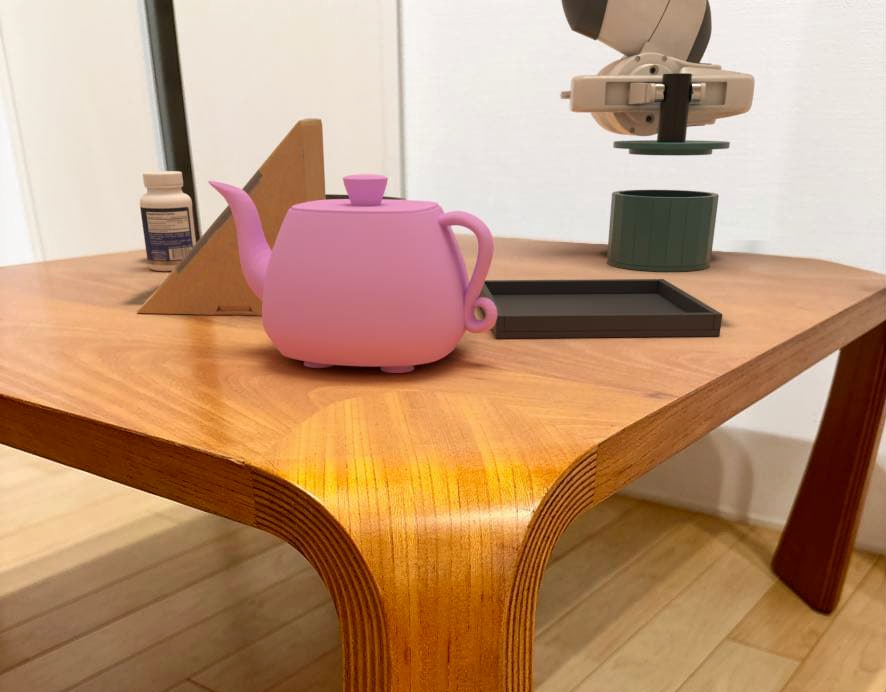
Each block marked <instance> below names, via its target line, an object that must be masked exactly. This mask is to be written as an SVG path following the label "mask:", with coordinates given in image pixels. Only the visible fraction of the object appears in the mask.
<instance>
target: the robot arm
mask: <svg viewBox="0 0 886 692" xmlns="http://www.w3.org/2000/svg"><path fill="white" fill-rule="evenodd" d="M560 1H561V5H562V11H563V14H564V16H565V19H566V21H567V24H568V26H569V28H570V30H571V31H572V32H575V33H577V34H580V35H581V36H584V37H587V38H589V39H591V40H593V41H599V42H600V43H602V44H604V45H605V46H607V47H609V48H611V49H613V50H615V51H616V52H618V53H620V54H621V55H623V56H622V57H621V58H619V59H616V60H614V61H612V62H610V63H608V64H606V65H605V66H604V67H603V68H601V70H599V71H598V72H597V73H596V74H588V75H587V74H584V75H583V74H582V75H581V74H580V75H575V76H573V77H572V78H571V79H570V87H569V89H570V90H562V91H560V94H559V97H560V100H569V108H568V109H569V111H570V112H572V113H582V114H583V113H585V114H587V113H589V114H590V115H591V117H592V119H593V120H594V121H595V122H596V124H597V125H599V126H600V128H602V129H603V130H605V131H607V132H609V133H612V134H615V135H623V136H632V137H633V136H634V137H635V136H636V137H650V136H654V135H657V134H658V123H659V111H660V102H663V100H664V94H663V92H664V90H665V85H664V84H662V77H663V74H672V73H689V74H692V81H691V91H690V101H689V111H688V121H687V128H688V127H689V128H690V127H704V126H706V125H707V126H708V125H712V126H713V125H714V124H715V123H716V120H718V119H725V118H730V117H735V116H740V115H743V114H746V113H749V111H750V110H751V109H752V106H753V100H754V93H755V76H754V75H752V74H751V73H745V72H739V71H732V70H728V69H727V70H725V69H723V68H722V65H720V64H712V63H708V62H707V63H705V62H701V61H702V59H703V57H704V55H705V53H706V50H707V48H708V45H709V43H710V40H711V37H712V30H713V28H712V23H713V22H712V21H713V20H712V11H711V4H710V1H709V0H560Z"/></svg>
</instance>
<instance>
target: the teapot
mask: <svg viewBox="0 0 886 692" xmlns="http://www.w3.org/2000/svg"><path fill="white" fill-rule="evenodd" d="M342 180H343V186H344V188H345V191H346V193H347V194H346V195H348V196H349V199H330V200H317V201H310V202H305V203H300V204H296V205H293V206H292V207H291V208H290V209H289V210H288V212H287V214H286V216H285V218H284V220H283V223H282V225H281V228H280V231H279V233H278V236H277V239H276V241H275V244H274V247H273V250H271V249H270V247H269V245H268V244H267V241H266V239H265V236H264V233H263V229H262V226H261V222H260V218H259V215H258V212H257V209H256V207H255V205H254V203H253V201H252V199H251V198H250V197H249V195H248V194H247V193H246V192H245V191H243V190H242V189H243V188H241V187H238V186H235V185H231V184H228V183H223V182H220V181H215V180H207V182H208V184H209V185H210V186H211V187H212V188H213V189H215V191H217V192H218V194H220V195H221V196H222V197H223V199H224V200H225V202H226V203H227V206H228V205H229V206H230V208H231V211H232V214H233V217H234V220H235V225H236V230H237V238H238V249H239V257H240V264H241V268H242V271H243V275H244V277H245V279H246V281H247V284H248V285H249V287H250V288H251V290H252V291H253V292H254V294H255V295H256V296H257V297H258V298H259V299H260V300H261V301H262V315H261V319H262V326H263V330H264V333H266V336H268V338H269V340H270V341H271V342H272V344H273V345H274V346H275V348H276V349H277V350H278V352H279V353H280V354H281V355H282V356H284V357H285V358H289V359H293V360H298V361H303V365H304V366H305V367H307V368H313V369H323V368H324V369H325V368H330V367H333V366H345V367H380V371H382V372H384V373H389V374H390V373H391V374H403V373H409V372H412V371H415V366H419V365H425V364H431V363H433V362H434V363H435V362H437V361H439V360H441V359H443V358H445V357H447V356H448V355H449V354H450V353H452V352H453V351H454V350H455V349H456V347H457V346H458V344H459V342H460V341H461V340H462V339H463V337H464V335H465V334H466V332H469V333H471V334H482V333H486V332H488V331H490V330H492V328H493V326H494V325H495V323H496V320H497V308H496V306H495V304H494V303H493V302H492V301H491V300H490V299H488V298H484V297H481V298H478V297H479V295H480V292H481V290H482V287H483V284H484V282H485V280H487V276H488V274H489V271H490V267H491V264H492V262H493V261H492V260H493V256H494V249H495V247H494V237H493V234H492V232H491V230H490V228H489V227H488V226H487V224H486V223H485V222H484V221H483V220H482V219H481V218H479V217H478V216H476V215H474V214H472V213H470V212H467V211H464V210H463V211H462V210H453V211H452V210H451V211H447V212H445V211H444V209H443V207H442V206H441V205H440V204H439V203H438V202H436V201H430V200H429V201H428V200H415V199H414V200H412V199H406V200H390V199H382V198H383V196H384V195H385V191H386V188H387V186H388V180H389V179H388V177H387V176H385V175H381V174H373V173H372V174H371V173H361V174H360V173H359V174H350V175H345V176H344V177H342ZM452 226H458V227H459V226H460V227H463V228H465V229H468V230H469V231H471V232H472V233H473V234H474V235H475V237H476V239H477V245H478V247H477V248H478V249H477V257H476V262H475V266H474V269H473V272H472V274H471V278H469V272H468V269H467V266H466V261H465V258H464V255H463V253H462V250H461V248H460V245H459V242H458V239H457V237H456V235H455V233H454V230H453V228H452ZM478 307H480V308H481V307H482V308H483V309H484V310H485V313H486V316H485V315H484V318H483V319H477V318H476V313H475V311H476V308H478Z"/></svg>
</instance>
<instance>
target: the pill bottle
mask: <svg viewBox="0 0 886 692" xmlns="http://www.w3.org/2000/svg"><path fill="white" fill-rule="evenodd" d="M142 180H143V185H144V188H146V193H145V194H143V195H142V196H141V197H140V198H139V209H140V216H141V223H142V232H143V239H144V246H145V254H146V260H147V261H146V262H147V266H148V268H149V269H150V270H151V271H155V272H172V271H173V270H174V268H175V267H176V266H177V265H178V264H179V263H180V261H181V260H182V259H183V258H184V257H185V256H186V254H187V253H188V252H189V251H190V250H191V249H192V247H193V246H194V245H195V244H196V243H197V242H198V240H197V233H196V226H195V225H196V224H195V217H194V216H195V215H194V207H193V201H192V198H191V197H190V195H188V194H187V193H184V191H183V190H182V187H184V179H183V172H182V171H178V170H176V171H175V170H159V171H145V172H142Z"/></svg>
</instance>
